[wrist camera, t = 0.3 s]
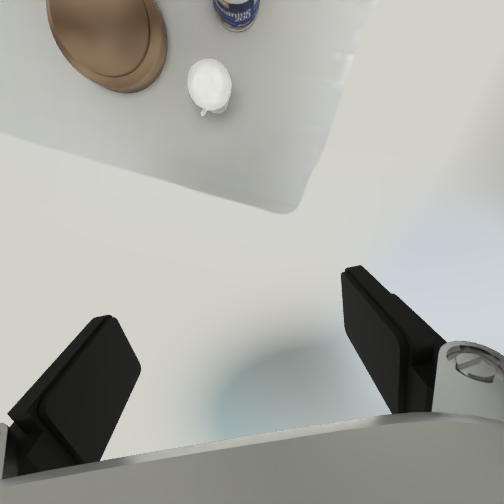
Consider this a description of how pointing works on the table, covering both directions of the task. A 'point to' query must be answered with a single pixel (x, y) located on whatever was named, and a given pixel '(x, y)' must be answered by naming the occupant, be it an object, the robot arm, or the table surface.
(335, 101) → the table surface
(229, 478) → the robot arm
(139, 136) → the table surface
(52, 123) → the table surface
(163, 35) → the walnut stand
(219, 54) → the table surface
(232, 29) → the pill bottle
